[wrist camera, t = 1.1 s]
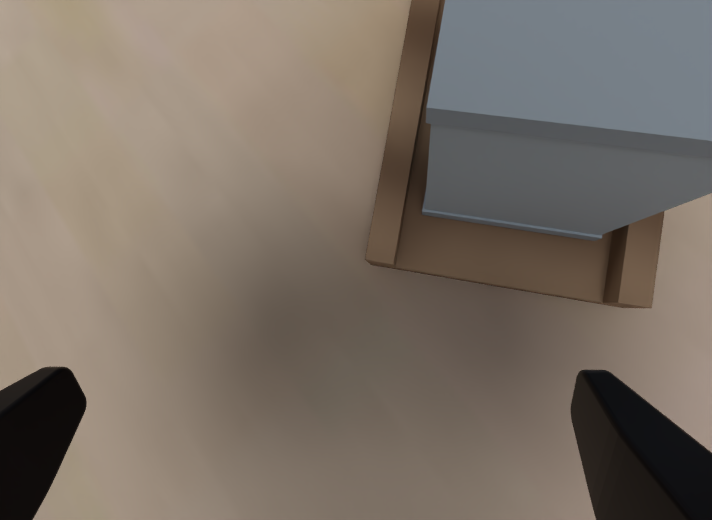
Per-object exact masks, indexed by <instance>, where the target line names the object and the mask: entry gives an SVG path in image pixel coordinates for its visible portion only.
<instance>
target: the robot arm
mask: <svg viewBox="0 0 712 520" xmlns="http://www.w3.org/2000/svg"><path fill="white" fill-rule="evenodd" d="M85 410H86V397H85V395H84V393H83V391H82V389H81V387H80V385H79V384H78V382H77V380H76V378H75V376H74V374H73V372H72V371H71V370H70V369H68V368H67V367H44V368H41V369H39V370H38V371H36V372H34V373H32V374H30V375H28V376H27V377H25V378H23V379H21V380H19V381H17V382H15V383H14V384H12V385H10V386H8V387H6V388H4V389H3V390H1V391H0V520H33V518H34V516H35V514H36V513H37V511H38V509H39V507H40V506H41V504H42V502H43V500H44V498H45V496H46V494H47V493H48V491H49V489H50V487H51V485H52V483H53V480H54V478H55V476H56V474H57V472H58V470H59V467H60V465H61V463H62V461H63V459H64V456H65V454H66V452H67V450H68V448H69V445H70V443H71V441H72V439H73V437H74V434H75V432H76V430H77V428H78V426H79V423H80V421H81V419H82V417H83V415H84V412H85ZM571 419H572V423H573V428H574V432H575V436H576V440H577V444H578V448H579V453H580V457H581V461H582V465H583V469H584V473H585V478H586V482H587V486H588V490H589V494H590V498H591V502H592V506H593V510H594V514H595V517H596V520H712V453H711V452H710V451H709V450H708V449H706V448H705V447H704V446H703V445H701V444H700V443H699V442H697V441H696V440H695V439H694V438H692V437H691V436H690V435H689V434H687V433H686V432H685V431H684V430H682V429H681V428H680V427H679V426H677V425H676V424H675V423H674V422H672V421H671V420H670V419H669V418H667V417H666V416H665V415H663V414H662V413H661V412H660V411H658V410H657V409H656V408H655V407H653V406H652V405H651V404H650V403H648V402H647V401H646V400H645V399H643V398H642V397H641V396H640V395H638V394H637V393H636V392H635V391H633V390H632V389H631V388H630V387H628V386H627V385H626V384H624V383H623V382H622V381H621V380H619V379H618V378H617V377H616V376H614V375H613V374H612V373H610V372H608V371H606V370H582V371H580V372H579V373H578V375H577V378H576V383H575V388H574V393H573V398H572V403H571Z"/></svg>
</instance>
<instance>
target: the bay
mask: <svg viewBox="0 0 712 520" xmlns="http://www.w3.org/2000/svg"><path fill="white" fill-rule="evenodd" d="M444 4H445V0H412V1H411V7H410V12H409V18H408V23H407V29H406V35H405V40H404V46H403V51H402V57H401V62H400V68H399V73H398V79H397V85H396V90H395V96H394V101H393V107H392V112H391V118H390V123H389V129H388V134H387V140H386V146H385V151H384V157H383V162H382V168H381V173H380V179H379V184H378V190H377V196H376V201H375V207H374V212H373V218H372V223H371V229H370V234H369V240H368V245H367V251H366V257H365V260H366V261H367V262H368V263H370V264H371V265H376V266H382V267H388V268H393V269H399V270H405V271H411V272H417V273H423V274H428V275H434V276H440V277H446V278H452V279H458V280H463V281H469V282H475V283H481V284H487V285H493V286H499V287H504V288H510V289H516V290H522V291H528V292H534V293H539V294H545V295H551V296H557V297H563V298H569V299H574V300H580V301H586V302H592V303H598V304H604V305H609V306H615V307H621V308H652V300H653V293H654V285H655V278H656V270H657V263H658V255H659V248H660V240H661V233H662V225H663V218H664V211H663V212H660V213H657V214H655V215H652V216H649V217H647V218H644V219H642V220H639V221H636V222H634V223H631V224H628V225H626V226H623V227H621V228H618V229H615V230H613V231H610V232H607V233H605V234H602V238H601V239H599V240H596V241H591V240H584V239H578V238H571V237H564V236H558V235H551V234H545V233H538V232H532V231H525V230H518V229H512V228H505V227H499V226H492V225H486V224H479V223H472V222H466V221H459V220H453V219H446V218H439V217H433V216H426V215H422V209H423V203H424V197H425V192H426V186H427V172H428V158H429V143H430V129H431V124H428V123H426V107H427V102H428V96H429V90H430V85H431V79H432V73H433V67H434V62H435V56H436V50H437V44H438V39H439V33H440V27H441V22H442V16H443V10H444Z"/></svg>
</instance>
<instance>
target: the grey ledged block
mask: <svg viewBox="0 0 712 520" xmlns="http://www.w3.org/2000/svg"><path fill="white" fill-rule="evenodd" d="M426 123H428V124H431V129H430V143H429V158H428V172H427V186H426V192H425V197H424V203H423V209H422V215H426V216H433V217H439V218H446V219H453V220H459V221H466V222H472V223H479V224H486V225H492V226H499V227H505V228H512V229H518V230H525V231H532V232H538V233H545V234H551V235H558V236H564V237H571V238H578V239H584V240H591V241H596V240H599V239H601V238H602V234H605V233H607V232H610V231H613V230H615V229H618V228H621V227H623V226H626V225H628V224H631V223H634V222H636V221H639V220H642V219H644V218H647V217H649V216H652V215H655V214H657V213H660V212H663V211H665V210H668V209H671V208H673V207H676V206H678V205H681V204H684V203H686V202H689V201H692V200H694V199H697V198H700V197H702V196H705V195H707V194H710V193H712V0H445V4H444V10H443V16H442V22H441V27H440V33H439V39H438V44H437V50H436V56H435V62H434V67H433V73H432V79H431V85H430V90H429V96H428V102H427V107H426Z"/></svg>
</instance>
